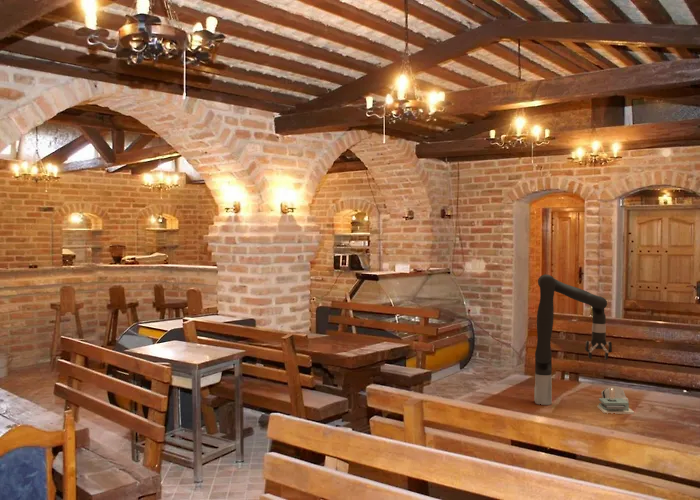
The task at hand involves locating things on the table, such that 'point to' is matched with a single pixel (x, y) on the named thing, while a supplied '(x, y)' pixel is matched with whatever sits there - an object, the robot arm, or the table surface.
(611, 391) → the pin
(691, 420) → the table surface
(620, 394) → the white black beveled block
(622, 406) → the square frame block
